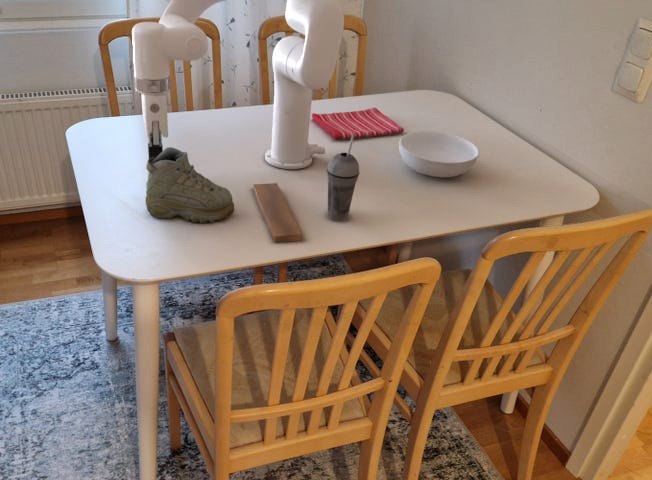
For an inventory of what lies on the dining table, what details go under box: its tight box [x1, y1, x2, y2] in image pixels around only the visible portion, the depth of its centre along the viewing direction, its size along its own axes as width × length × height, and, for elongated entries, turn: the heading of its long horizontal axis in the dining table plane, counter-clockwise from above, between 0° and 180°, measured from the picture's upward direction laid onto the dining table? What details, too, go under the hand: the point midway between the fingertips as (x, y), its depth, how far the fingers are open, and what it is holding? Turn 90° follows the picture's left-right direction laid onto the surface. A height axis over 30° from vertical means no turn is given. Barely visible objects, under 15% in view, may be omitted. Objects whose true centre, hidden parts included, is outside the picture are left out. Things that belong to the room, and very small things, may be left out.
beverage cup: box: [326, 135, 360, 222], centre depth 141 cm, size 7×7×20 cm
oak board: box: [252, 182, 303, 244], centre depth 145 cm, size 6×24×2 cm, turn 14°
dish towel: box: [311, 107, 405, 141], centre depth 191 cm, size 17×24×3 cm
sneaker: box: [145, 146, 235, 224], centre depth 139 cm, size 11×19×15 cm, turn 78°
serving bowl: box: [398, 130, 480, 178], centre depth 169 cm, size 21×21×7 cm
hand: (155, 160), depth 149 cm, fingers closed
